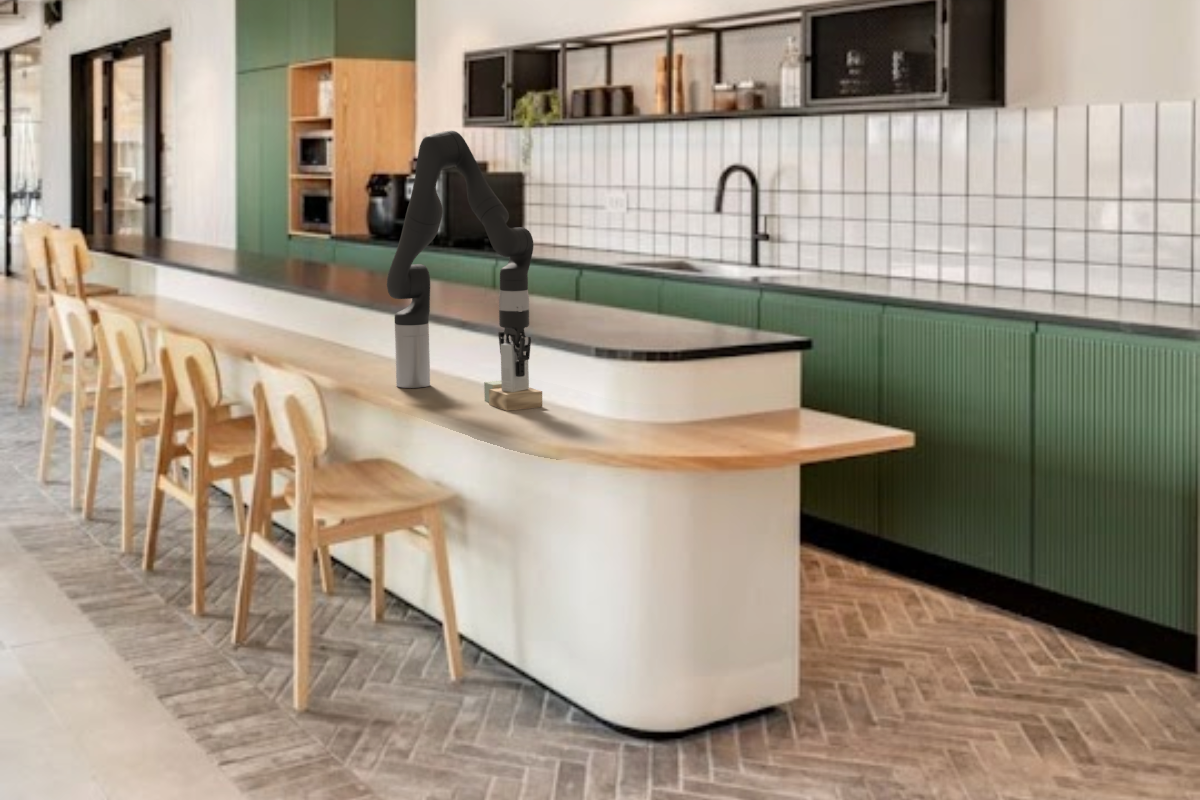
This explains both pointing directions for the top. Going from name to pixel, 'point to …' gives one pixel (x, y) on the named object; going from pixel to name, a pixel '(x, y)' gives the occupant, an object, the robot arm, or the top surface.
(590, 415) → the top surface
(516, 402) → the block
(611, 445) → the top surface
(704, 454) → the top surface
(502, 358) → the skincare box
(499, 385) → the sage cube
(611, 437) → the top surface
